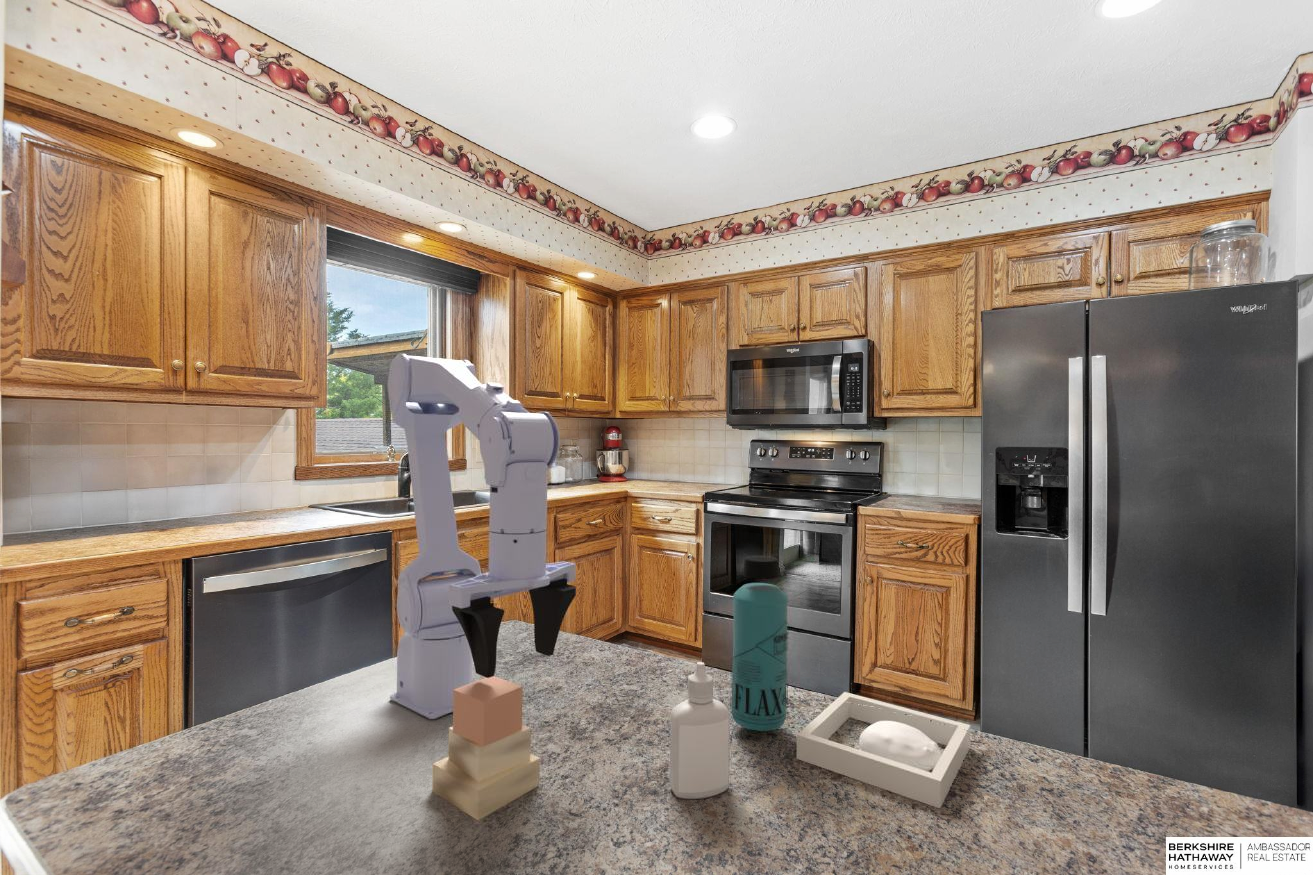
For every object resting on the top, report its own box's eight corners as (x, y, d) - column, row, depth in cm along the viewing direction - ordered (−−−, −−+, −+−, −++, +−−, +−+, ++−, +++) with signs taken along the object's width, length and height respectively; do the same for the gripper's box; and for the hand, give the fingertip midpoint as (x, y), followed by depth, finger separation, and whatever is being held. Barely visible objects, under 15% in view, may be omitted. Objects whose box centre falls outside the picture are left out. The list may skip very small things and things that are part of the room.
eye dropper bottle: (726, 806, 56) (728, 674, 56) (666, 798, 57) (667, 669, 57) (730, 779, 60) (732, 657, 60) (674, 773, 61) (675, 653, 61)
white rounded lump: (954, 769, 63) (954, 732, 63) (925, 794, 58) (925, 754, 58) (880, 740, 69) (880, 706, 69) (849, 761, 64) (849, 725, 64)
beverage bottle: (723, 738, 68) (725, 559, 68) (738, 713, 75) (740, 549, 75) (781, 750, 66) (784, 564, 66) (792, 723, 72) (794, 554, 72)
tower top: (448, 759, 58) (448, 727, 58) (499, 739, 62) (499, 710, 62) (478, 782, 55) (478, 748, 55) (530, 759, 58) (530, 728, 58)
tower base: (432, 795, 58) (432, 763, 58) (493, 764, 63) (494, 735, 63) (478, 824, 53) (478, 790, 53) (539, 789, 59) (539, 757, 59)
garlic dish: (796, 758, 64) (796, 734, 64) (844, 712, 75) (844, 691, 75) (940, 808, 56) (940, 781, 56) (970, 747, 67) (970, 725, 67)
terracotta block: (452, 732, 57) (453, 689, 57) (491, 715, 61) (492, 675, 61) (483, 747, 55) (484, 702, 55) (522, 728, 58) (522, 686, 58)
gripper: (482, 543, 54) (480, 697, 54) (596, 526, 66) (594, 653, 66) (437, 534, 58) (435, 676, 58) (551, 520, 70) (549, 638, 70)
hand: (516, 663), depth 62 cm, fingers open, 7 cm apart
